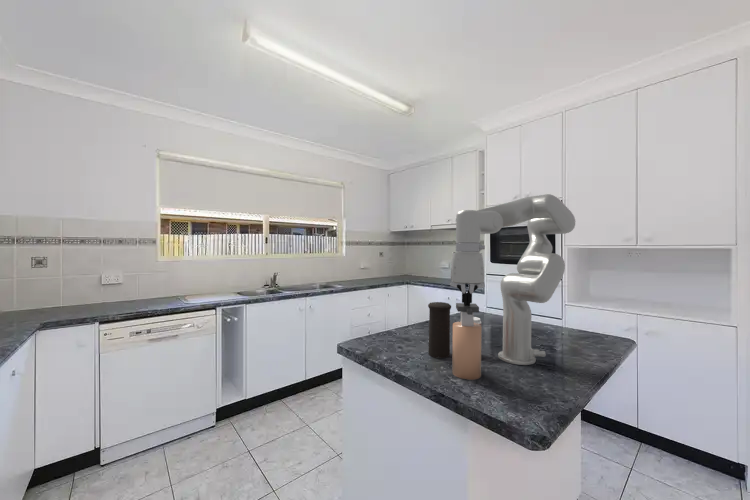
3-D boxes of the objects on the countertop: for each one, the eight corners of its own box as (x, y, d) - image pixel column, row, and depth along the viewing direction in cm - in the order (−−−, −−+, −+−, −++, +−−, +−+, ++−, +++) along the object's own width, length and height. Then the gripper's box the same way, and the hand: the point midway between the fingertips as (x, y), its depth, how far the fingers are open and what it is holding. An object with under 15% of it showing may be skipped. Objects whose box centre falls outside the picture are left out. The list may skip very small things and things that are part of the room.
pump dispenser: (478, 369, 107) (479, 308, 107) (483, 380, 98) (484, 314, 98) (451, 367, 108) (451, 307, 108) (453, 378, 99) (454, 313, 99)
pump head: (475, 322, 106) (475, 303, 105) (480, 330, 96) (481, 309, 95) (455, 321, 107) (456, 302, 106) (459, 329, 97) (459, 308, 96)
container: (449, 351, 125) (449, 300, 125) (452, 359, 116) (452, 305, 116) (426, 350, 126) (427, 300, 126) (428, 358, 117) (429, 304, 117)
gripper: (489, 249, 105) (488, 304, 105) (443, 248, 107) (442, 302, 108) (494, 249, 98) (493, 308, 98) (444, 248, 100) (443, 306, 100)
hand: (466, 305), depth 103 cm, fingers closed
